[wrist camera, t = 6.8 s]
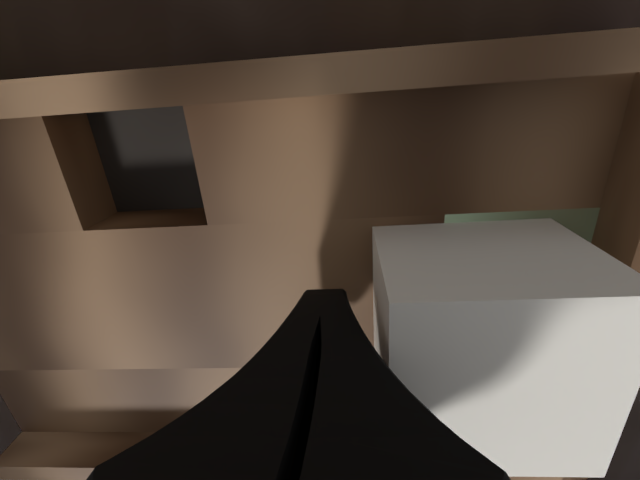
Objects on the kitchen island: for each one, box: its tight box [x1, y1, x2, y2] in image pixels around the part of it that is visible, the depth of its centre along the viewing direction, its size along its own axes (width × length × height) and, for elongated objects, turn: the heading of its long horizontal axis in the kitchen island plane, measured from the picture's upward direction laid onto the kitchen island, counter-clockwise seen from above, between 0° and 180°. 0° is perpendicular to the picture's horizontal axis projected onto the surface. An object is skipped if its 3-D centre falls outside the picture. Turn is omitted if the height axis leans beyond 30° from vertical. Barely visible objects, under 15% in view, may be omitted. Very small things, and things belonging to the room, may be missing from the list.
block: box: [372, 218, 640, 478], centre depth 9 cm, size 5×5×4 cm
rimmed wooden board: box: [0, 27, 640, 480], centre depth 12 cm, size 22×14×4 cm, turn 94°
